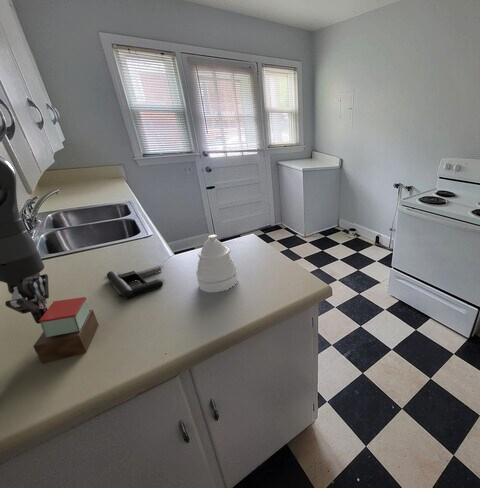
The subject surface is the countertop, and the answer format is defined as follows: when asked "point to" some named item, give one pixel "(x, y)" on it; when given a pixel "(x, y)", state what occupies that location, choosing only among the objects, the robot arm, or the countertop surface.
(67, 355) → the stand
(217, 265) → the honey pot
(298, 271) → the countertop surface
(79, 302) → the mint and red box
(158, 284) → the door handle
